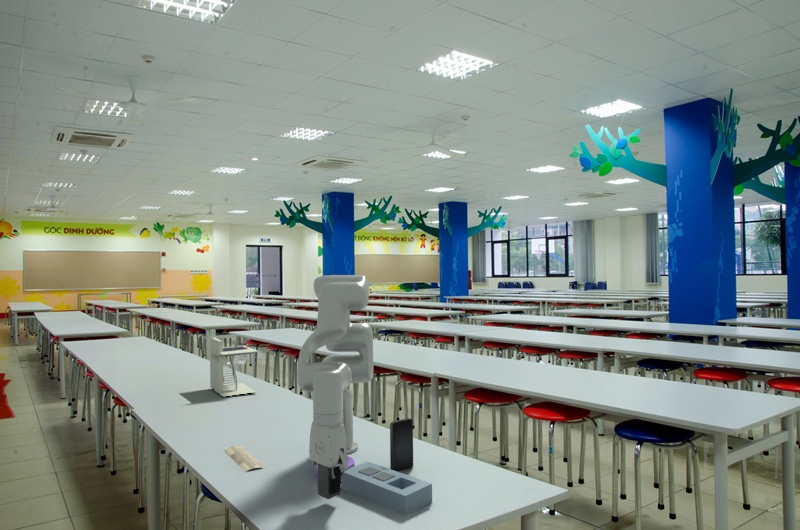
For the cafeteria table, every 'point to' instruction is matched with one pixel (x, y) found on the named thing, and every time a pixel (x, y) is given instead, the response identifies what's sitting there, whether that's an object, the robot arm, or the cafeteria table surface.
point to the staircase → (219, 361)
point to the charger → (325, 482)
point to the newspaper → (243, 458)
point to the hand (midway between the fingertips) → (329, 488)
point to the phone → (401, 445)
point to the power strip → (387, 487)
